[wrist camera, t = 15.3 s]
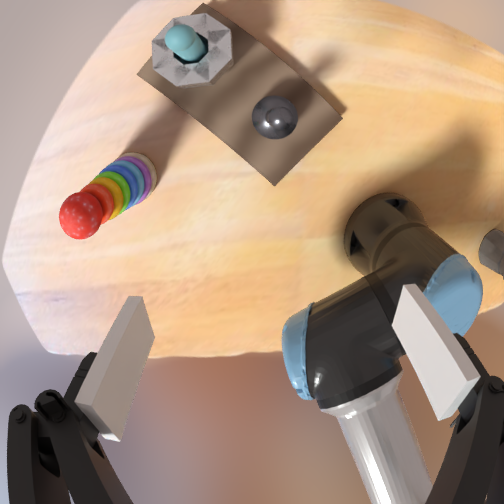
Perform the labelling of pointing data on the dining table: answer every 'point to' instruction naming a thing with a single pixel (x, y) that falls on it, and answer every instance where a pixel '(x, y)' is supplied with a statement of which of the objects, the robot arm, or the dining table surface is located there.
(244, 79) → the walnut board
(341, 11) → the dining table surface
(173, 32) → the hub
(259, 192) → the dining table surface
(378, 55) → the dining table surface
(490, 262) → the coffeepot
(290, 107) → the stand rod
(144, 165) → the stacking toy
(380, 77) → the dining table surface
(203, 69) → the steel ring
